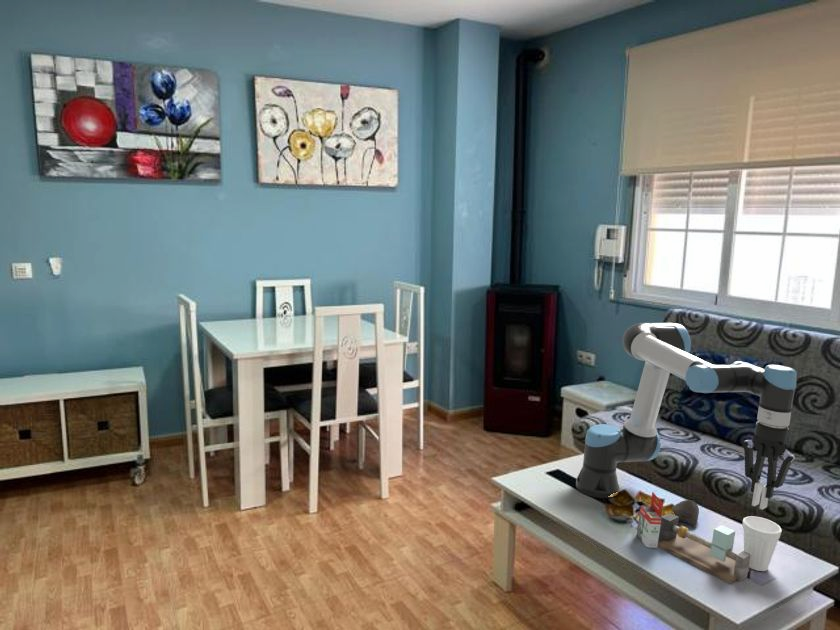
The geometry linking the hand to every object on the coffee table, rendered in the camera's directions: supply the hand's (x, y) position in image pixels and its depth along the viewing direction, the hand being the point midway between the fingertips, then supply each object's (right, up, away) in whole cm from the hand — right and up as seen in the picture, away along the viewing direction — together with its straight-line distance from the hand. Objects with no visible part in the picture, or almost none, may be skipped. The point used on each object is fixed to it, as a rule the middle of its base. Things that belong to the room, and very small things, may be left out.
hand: (759, 506), depth 166 cm
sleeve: (-6, -17, +10) cm, 21 cm away
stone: (-4, -17, +37) cm, 41 cm away
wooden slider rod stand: (-9, -20, +14) cm, 26 cm away
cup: (+5, -21, +12) cm, 25 cm away
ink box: (-22, -18, +22) cm, 36 cm away
